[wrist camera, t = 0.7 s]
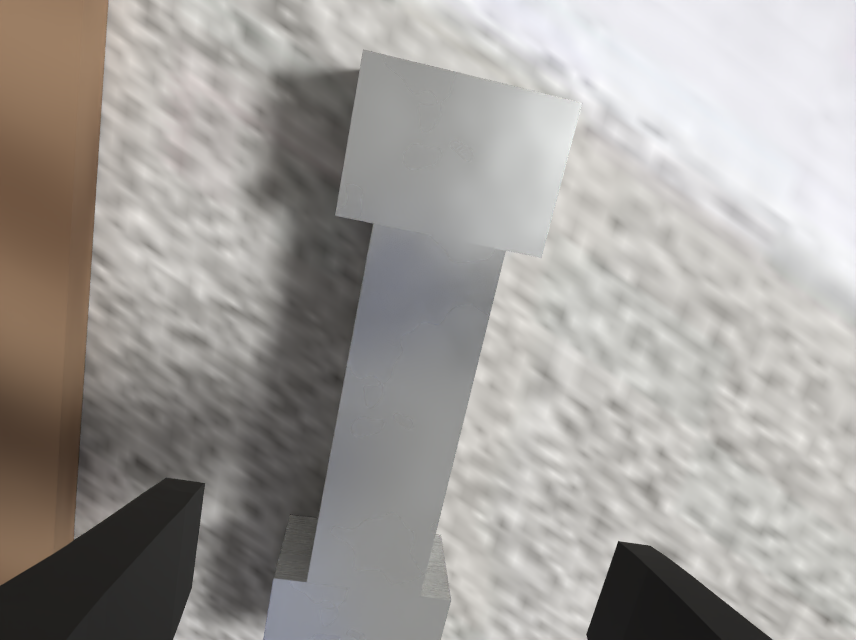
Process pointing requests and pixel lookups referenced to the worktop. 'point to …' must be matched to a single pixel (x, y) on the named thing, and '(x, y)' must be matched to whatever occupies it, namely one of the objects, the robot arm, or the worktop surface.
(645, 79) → the worktop surface
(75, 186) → the rack board
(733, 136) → the worktop surface
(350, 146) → the grey stepped bar
